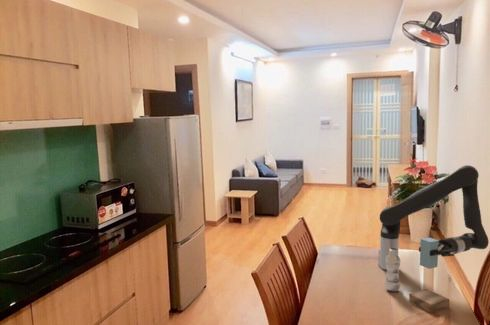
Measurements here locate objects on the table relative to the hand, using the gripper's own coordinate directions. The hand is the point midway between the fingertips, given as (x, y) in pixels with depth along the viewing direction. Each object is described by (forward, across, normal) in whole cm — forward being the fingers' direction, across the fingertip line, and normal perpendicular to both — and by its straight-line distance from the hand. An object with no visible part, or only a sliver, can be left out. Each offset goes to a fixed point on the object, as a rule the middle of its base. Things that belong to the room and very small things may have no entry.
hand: (425, 251), depth 166 cm
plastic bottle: (+6, -12, +22) cm, 26 cm away
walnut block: (+2, +5, +22) cm, 23 cm away
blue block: (-3, 0, +7) cm, 7 cm away
